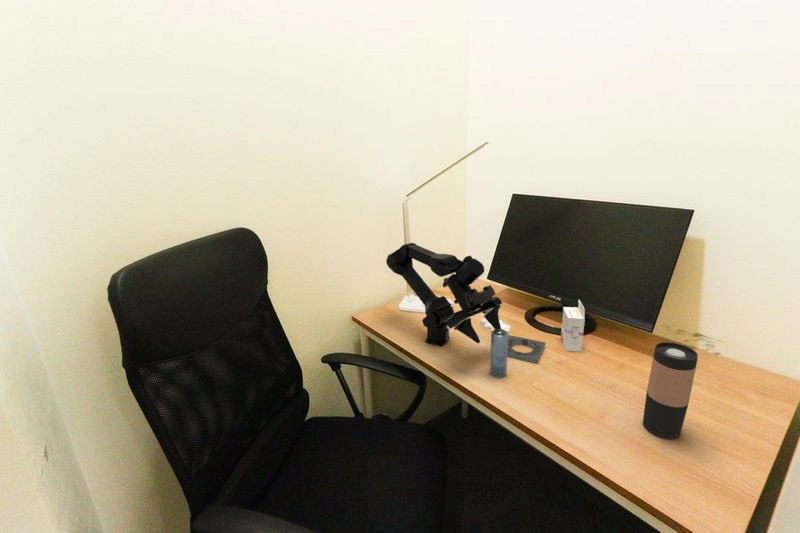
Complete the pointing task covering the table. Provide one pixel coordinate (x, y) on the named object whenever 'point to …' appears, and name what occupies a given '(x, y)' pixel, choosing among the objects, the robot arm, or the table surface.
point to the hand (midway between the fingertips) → (490, 337)
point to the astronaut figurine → (488, 325)
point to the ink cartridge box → (573, 327)
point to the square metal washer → (535, 345)
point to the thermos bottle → (499, 353)
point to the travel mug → (669, 389)
